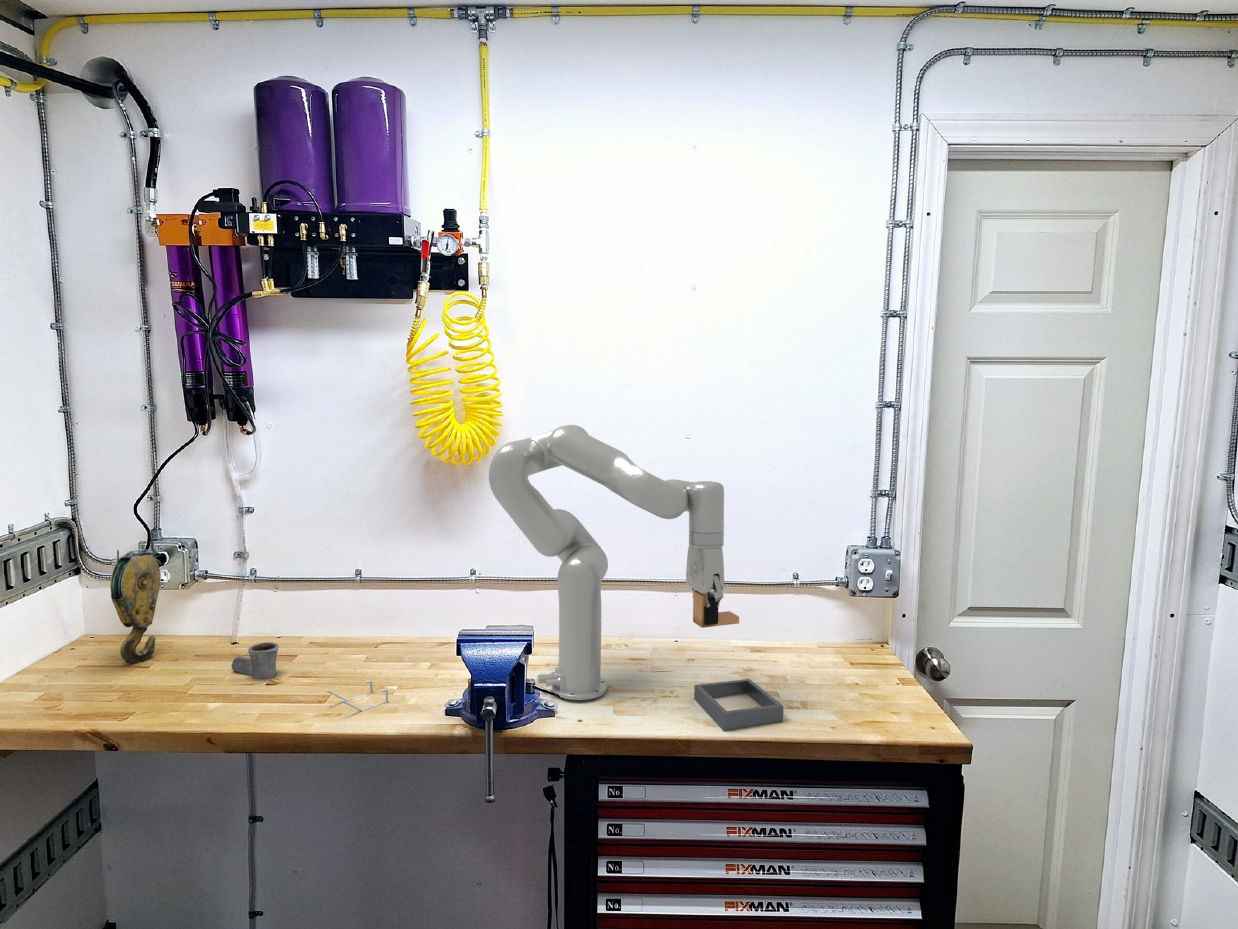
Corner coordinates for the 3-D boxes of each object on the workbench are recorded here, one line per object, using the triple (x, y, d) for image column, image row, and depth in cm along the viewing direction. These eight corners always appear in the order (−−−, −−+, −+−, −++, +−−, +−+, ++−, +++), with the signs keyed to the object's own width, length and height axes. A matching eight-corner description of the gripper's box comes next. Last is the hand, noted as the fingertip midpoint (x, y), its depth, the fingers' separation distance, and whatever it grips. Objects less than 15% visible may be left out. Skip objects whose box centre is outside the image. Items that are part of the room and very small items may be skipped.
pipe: (245, 669, 178) (244, 637, 177) (287, 677, 173) (286, 644, 173) (224, 678, 172) (223, 645, 171) (267, 686, 168) (266, 652, 167)
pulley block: (147, 652, 187) (142, 538, 184) (169, 653, 187) (165, 538, 184) (107, 673, 173) (101, 549, 170) (131, 674, 173) (126, 550, 170)
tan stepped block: (701, 627, 156) (702, 596, 156) (693, 621, 161) (693, 590, 160) (739, 623, 159) (739, 592, 159) (729, 617, 164) (729, 587, 163)
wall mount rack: (394, 708, 157) (394, 688, 157) (347, 724, 150) (347, 703, 149) (366, 692, 166) (366, 673, 165) (321, 706, 158) (320, 686, 158)
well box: (723, 737, 147) (724, 713, 146) (693, 706, 161) (694, 685, 160) (782, 729, 151) (783, 706, 150) (748, 700, 165) (749, 678, 165)
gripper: (674, 532, 164) (674, 611, 166) (707, 547, 148) (707, 634, 150) (704, 530, 167) (704, 608, 168) (740, 544, 151) (739, 630, 152)
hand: (705, 619), depth 159 cm, fingers closed on tan stepped block, 4 cm apart
